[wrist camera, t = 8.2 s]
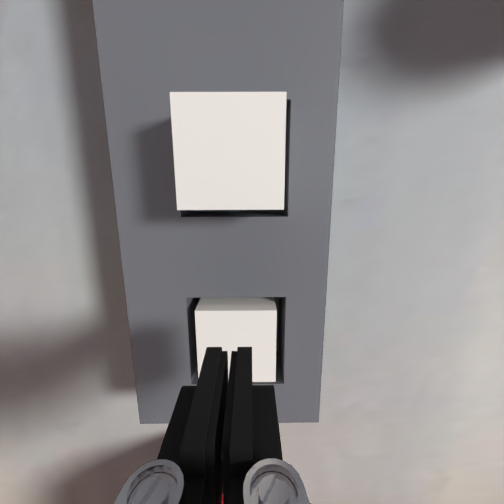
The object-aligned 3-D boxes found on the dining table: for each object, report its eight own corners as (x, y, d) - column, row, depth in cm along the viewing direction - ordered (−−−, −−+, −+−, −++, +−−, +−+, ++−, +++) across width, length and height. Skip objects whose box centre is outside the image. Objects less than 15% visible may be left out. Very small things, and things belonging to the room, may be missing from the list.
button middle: (188, 115, 12) (169, 92, 9) (278, 115, 12) (286, 91, 9) (193, 205, 13) (177, 209, 10) (276, 205, 13) (284, 209, 10)
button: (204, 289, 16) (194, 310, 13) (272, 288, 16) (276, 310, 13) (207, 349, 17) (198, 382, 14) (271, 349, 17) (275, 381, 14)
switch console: (110, -139, 13) (49, -280, 9) (327, -139, 13) (360, -279, 9) (157, 376, 19) (133, 423, 15) (304, 375, 19) (318, 422, 15)
